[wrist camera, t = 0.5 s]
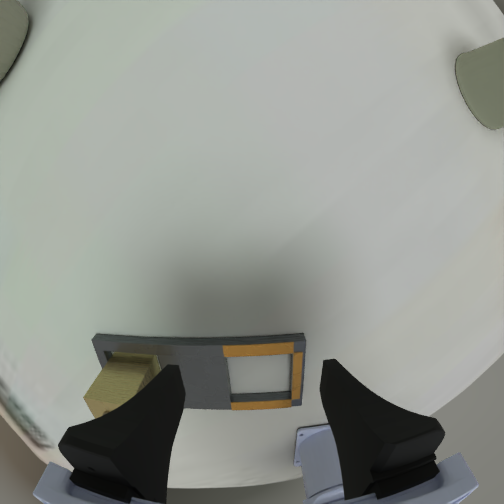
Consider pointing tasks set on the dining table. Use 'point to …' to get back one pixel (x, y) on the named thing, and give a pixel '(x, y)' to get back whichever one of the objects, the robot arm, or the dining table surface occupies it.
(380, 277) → the dining table surface
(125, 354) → the block
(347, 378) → the robot arm
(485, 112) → the can
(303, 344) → the grey frame plate
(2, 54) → the canister
